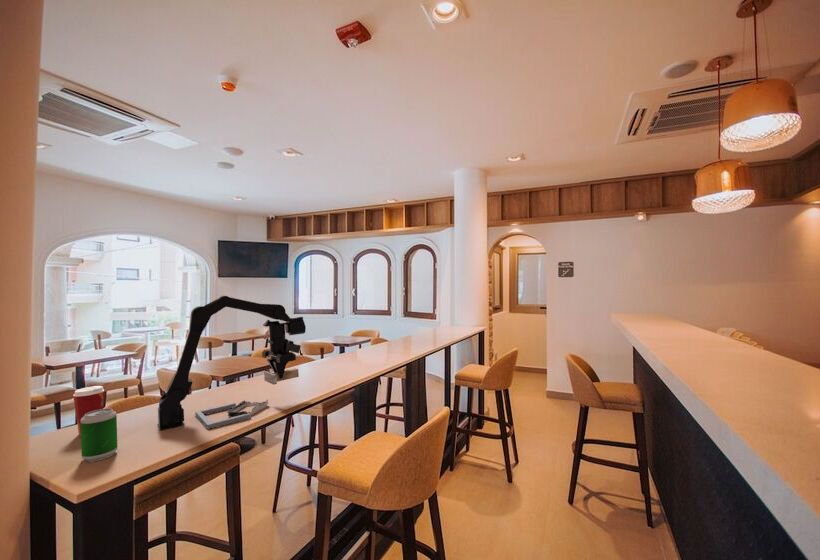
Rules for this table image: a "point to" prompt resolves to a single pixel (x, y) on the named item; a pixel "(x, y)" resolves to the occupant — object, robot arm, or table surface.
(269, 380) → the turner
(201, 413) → the tile frame
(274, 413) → the table surface
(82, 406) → the paper cup
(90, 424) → the soda can
